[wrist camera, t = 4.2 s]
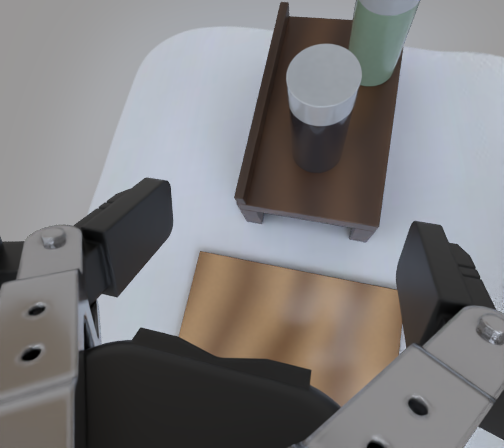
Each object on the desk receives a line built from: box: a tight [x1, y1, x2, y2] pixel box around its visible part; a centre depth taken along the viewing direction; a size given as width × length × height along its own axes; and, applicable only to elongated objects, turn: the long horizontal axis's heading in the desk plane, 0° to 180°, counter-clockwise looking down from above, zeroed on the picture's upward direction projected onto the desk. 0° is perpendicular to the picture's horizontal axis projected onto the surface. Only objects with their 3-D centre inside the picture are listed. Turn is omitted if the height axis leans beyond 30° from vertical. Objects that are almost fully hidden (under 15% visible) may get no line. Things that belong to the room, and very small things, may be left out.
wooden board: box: [179, 251, 402, 407], centre depth 32 cm, size 20×16×1 cm
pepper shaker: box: [286, 44, 362, 173], centre depth 26 cm, size 4×4×10 cm
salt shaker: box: [348, 0, 420, 86], centre depth 27 cm, size 4×4×10 cm
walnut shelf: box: [234, 2, 403, 242], centre depth 34 cm, size 12×20×8 cm, turn 168°
